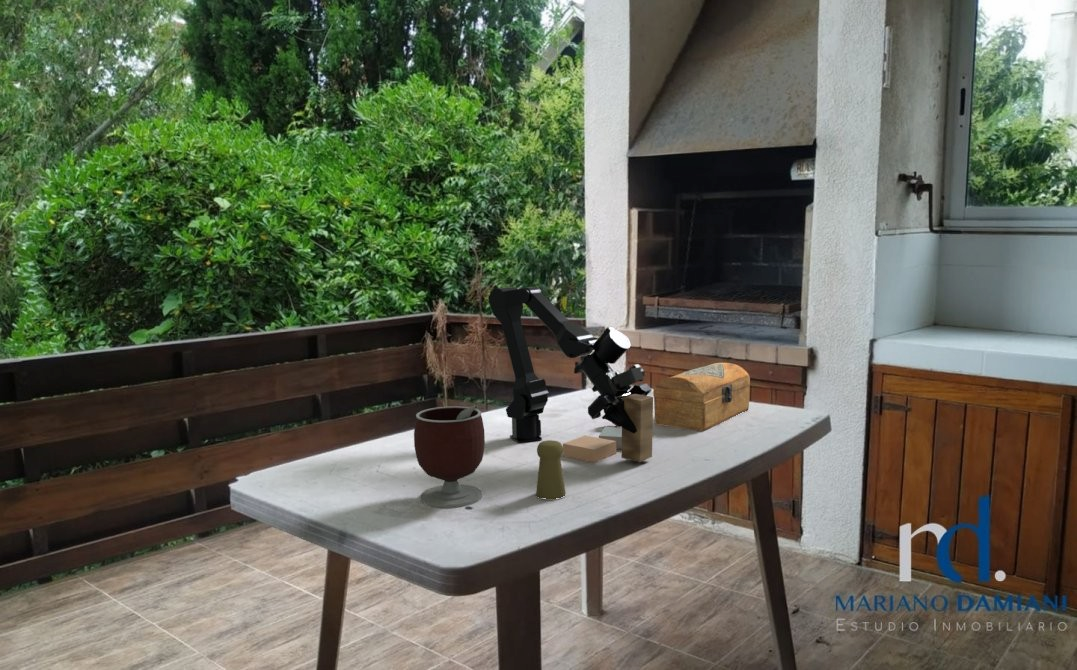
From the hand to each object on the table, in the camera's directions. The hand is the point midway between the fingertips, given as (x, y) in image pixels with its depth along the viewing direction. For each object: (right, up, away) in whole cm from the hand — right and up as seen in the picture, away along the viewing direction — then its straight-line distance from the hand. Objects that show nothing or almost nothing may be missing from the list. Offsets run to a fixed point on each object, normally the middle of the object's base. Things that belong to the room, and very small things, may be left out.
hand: (642, 429), depth 177 cm
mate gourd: (-40, -11, -20) cm, 46 cm away
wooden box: (+23, -2, +43) cm, 49 cm away
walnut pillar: (-1, -6, +2) cm, 7 cm away
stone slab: (-3, -5, +17) cm, 18 cm away
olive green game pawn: (-21, -11, -20) cm, 31 cm away
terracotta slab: (-11, -7, +8) cm, 16 cm away
